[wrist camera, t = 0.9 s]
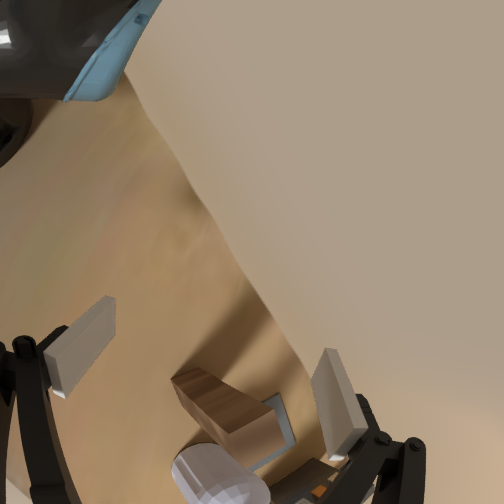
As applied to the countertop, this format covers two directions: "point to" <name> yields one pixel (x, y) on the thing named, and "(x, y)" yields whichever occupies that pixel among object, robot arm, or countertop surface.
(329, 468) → the breaker panel
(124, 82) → the countertop surface
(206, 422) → the gate
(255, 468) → the pad
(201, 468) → the soap bottle
